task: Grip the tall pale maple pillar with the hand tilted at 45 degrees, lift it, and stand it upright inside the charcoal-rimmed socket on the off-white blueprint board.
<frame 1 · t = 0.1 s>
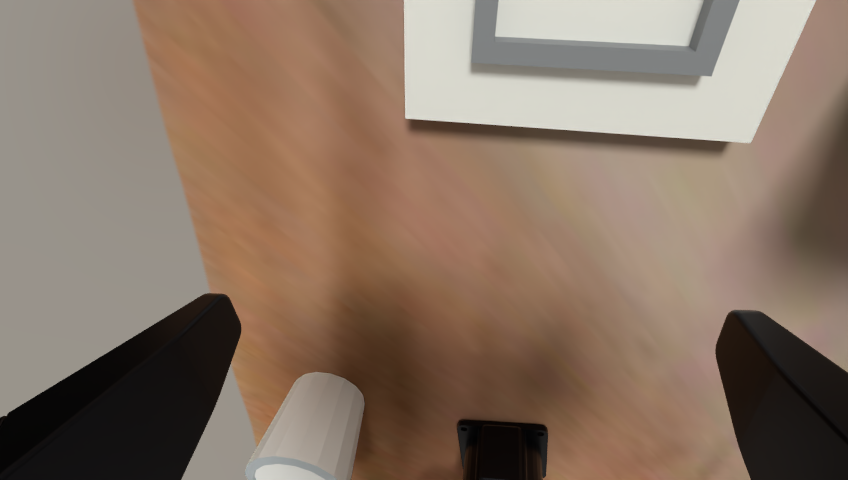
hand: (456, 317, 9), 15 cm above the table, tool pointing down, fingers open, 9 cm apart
white cup: (329, 393, 36), on the table
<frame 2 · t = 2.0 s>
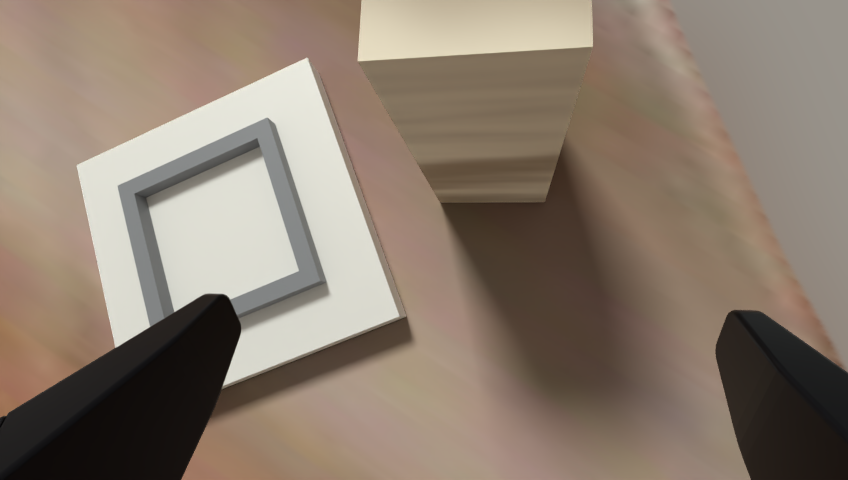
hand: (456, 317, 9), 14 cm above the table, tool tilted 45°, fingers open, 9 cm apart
maple pillar: (492, 152, 23), on the table
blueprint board: (239, 238, 25), on the table
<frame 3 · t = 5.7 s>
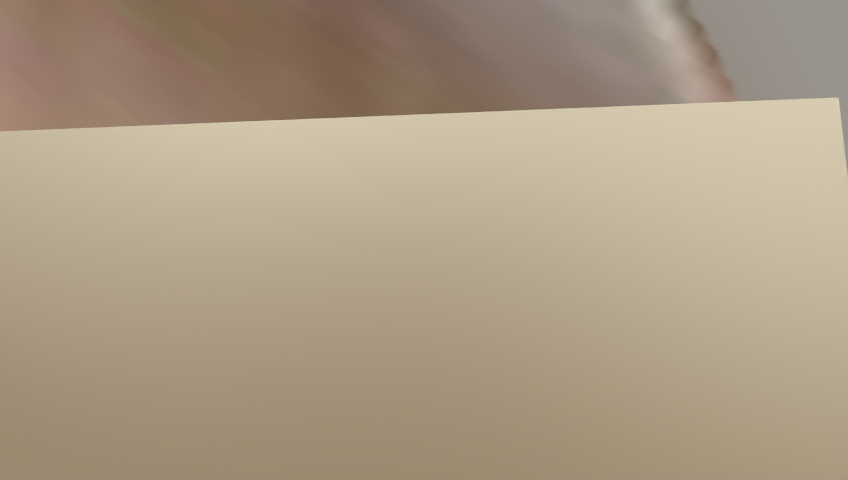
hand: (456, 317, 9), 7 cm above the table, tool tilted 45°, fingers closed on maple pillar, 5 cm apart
maple pillar: (477, 363, 15), on the table, touching gripper
when the fingers open (10 cm above the table, at t = 9.6 s): maple pillar drops 1 cm, resting on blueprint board.
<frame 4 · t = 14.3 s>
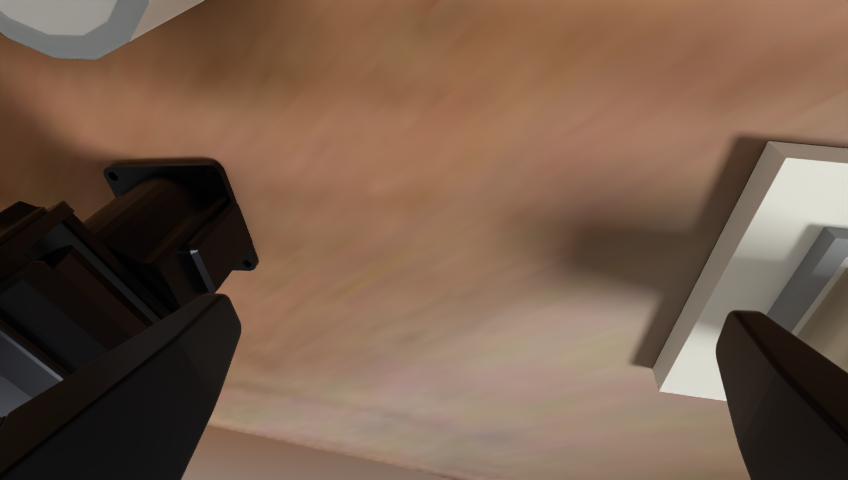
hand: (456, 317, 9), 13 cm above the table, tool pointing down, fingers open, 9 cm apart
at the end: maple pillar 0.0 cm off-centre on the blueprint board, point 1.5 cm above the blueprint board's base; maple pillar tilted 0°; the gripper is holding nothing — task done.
